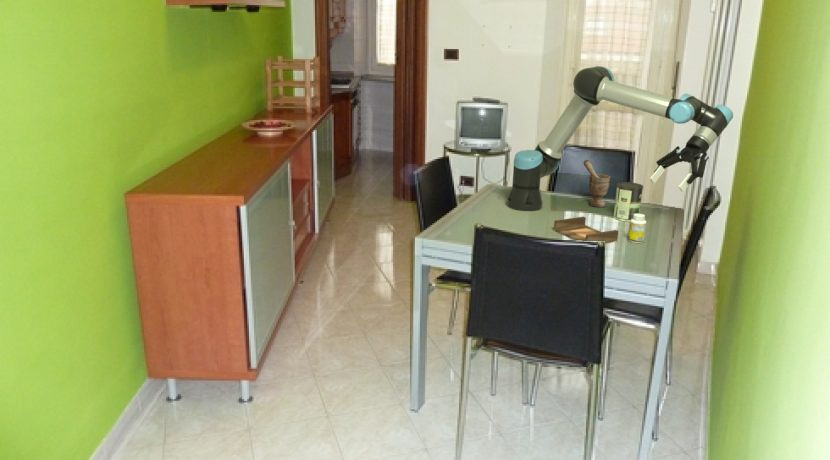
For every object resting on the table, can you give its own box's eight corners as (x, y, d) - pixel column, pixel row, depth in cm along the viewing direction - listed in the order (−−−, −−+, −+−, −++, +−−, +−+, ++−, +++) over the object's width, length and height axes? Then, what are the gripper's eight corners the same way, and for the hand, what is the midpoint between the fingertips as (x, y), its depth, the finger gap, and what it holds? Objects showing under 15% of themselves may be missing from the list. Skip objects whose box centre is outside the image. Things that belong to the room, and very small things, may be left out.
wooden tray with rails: (553, 230, 255) (554, 220, 254) (582, 226, 261) (583, 216, 260) (587, 246, 239) (588, 235, 238) (617, 241, 245) (618, 231, 244)
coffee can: (637, 215, 277) (641, 182, 273) (640, 222, 267) (644, 189, 263) (611, 213, 279) (615, 181, 274) (613, 220, 269) (617, 187, 265)
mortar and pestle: (587, 208, 285) (592, 163, 278) (576, 203, 292) (581, 158, 286) (610, 207, 288) (616, 162, 282) (599, 201, 296) (604, 157, 290)
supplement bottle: (631, 237, 249) (635, 211, 246) (646, 241, 246) (649, 214, 243) (625, 241, 245) (628, 214, 242) (640, 244, 242) (643, 218, 239)
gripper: (733, 154, 237) (697, 199, 235) (678, 142, 258) (645, 183, 256) (725, 140, 233) (689, 186, 231) (670, 129, 254) (636, 171, 252)
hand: (665, 185), depth 243 cm, fingers open, 13 cm apart
